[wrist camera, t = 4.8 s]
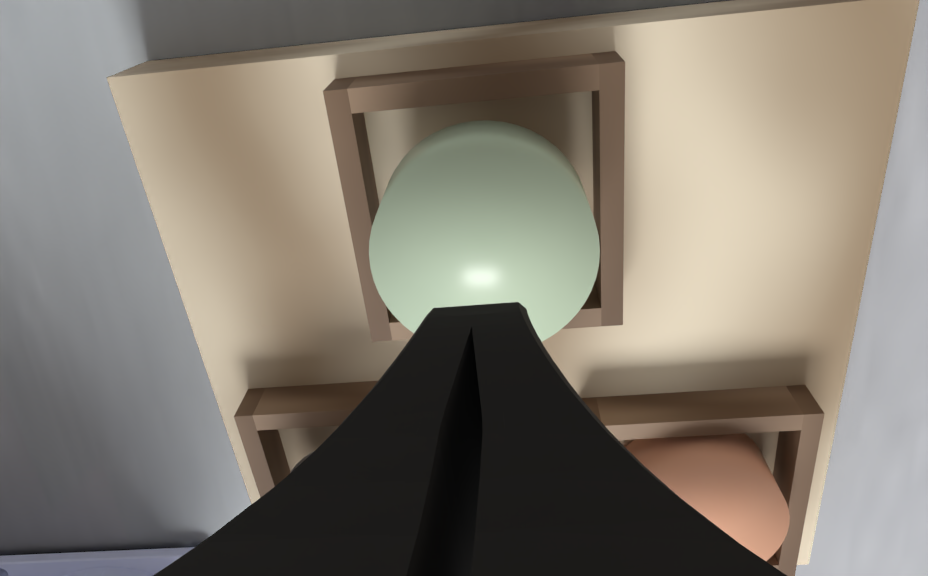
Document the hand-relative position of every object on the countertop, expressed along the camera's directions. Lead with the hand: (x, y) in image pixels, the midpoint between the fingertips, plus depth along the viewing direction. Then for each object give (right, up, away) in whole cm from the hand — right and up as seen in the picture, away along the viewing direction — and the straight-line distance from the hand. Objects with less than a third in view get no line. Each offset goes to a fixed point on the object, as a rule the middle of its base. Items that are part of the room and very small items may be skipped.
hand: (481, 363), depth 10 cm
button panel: (+1, 0, +10) cm, 10 cm away
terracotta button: (+6, -4, +10) cm, 12 cm away
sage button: (0, +3, +5) cm, 5 cm away
